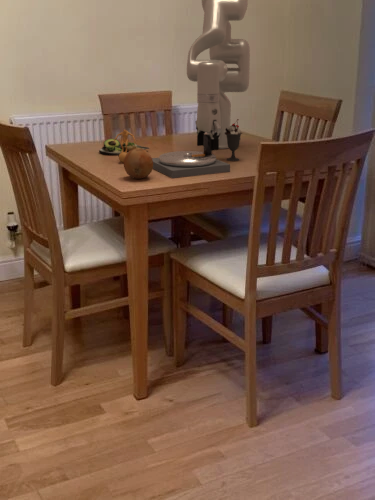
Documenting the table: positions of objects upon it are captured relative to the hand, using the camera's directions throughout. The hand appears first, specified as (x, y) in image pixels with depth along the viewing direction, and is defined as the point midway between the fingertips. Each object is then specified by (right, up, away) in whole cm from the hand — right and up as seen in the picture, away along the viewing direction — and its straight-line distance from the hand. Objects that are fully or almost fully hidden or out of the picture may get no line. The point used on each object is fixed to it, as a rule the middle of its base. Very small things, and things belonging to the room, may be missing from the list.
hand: (207, 147), depth 228 cm
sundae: (+10, -3, +13) cm, 17 cm away
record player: (-7, -5, -2) cm, 9 cm away
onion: (-23, -13, -15) cm, 30 cm away
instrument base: (-7, -7, -1) cm, 10 cm away
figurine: (-30, -4, +9) cm, 32 cm away
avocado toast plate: (-34, +3, +29) cm, 45 cm away
